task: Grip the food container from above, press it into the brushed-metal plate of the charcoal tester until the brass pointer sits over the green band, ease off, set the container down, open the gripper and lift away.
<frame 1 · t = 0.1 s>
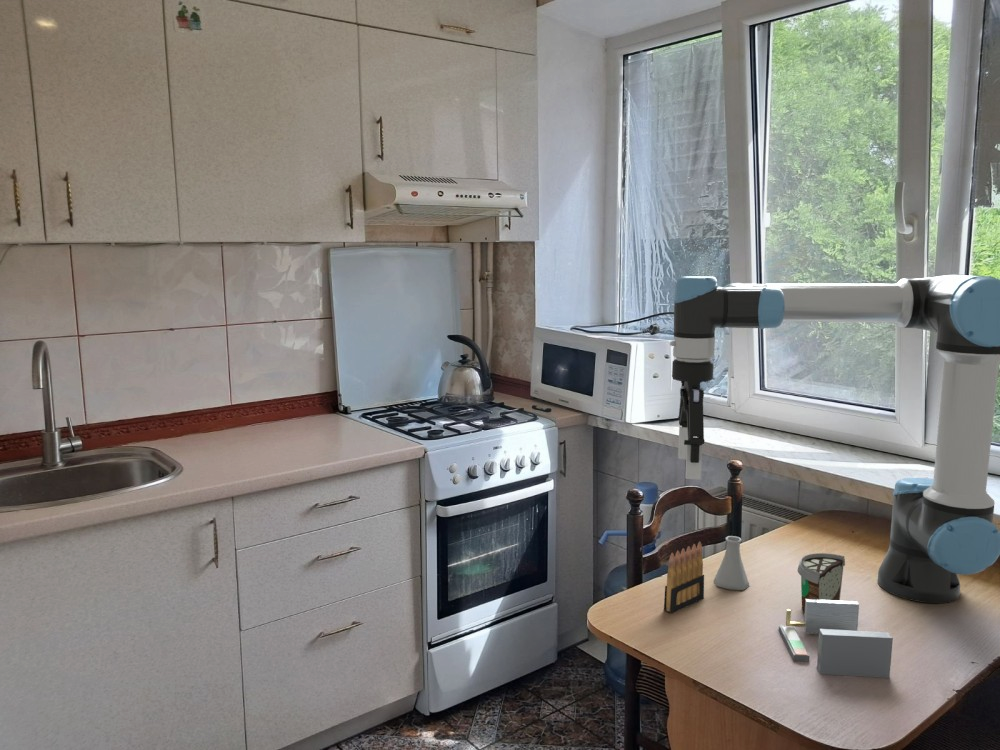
hand: (688, 468, 154), 28 cm above the table, tool pointing down, fingers open, 13 cm apart
tester housing: (841, 654, 139), on the table
flask: (731, 584, 168), on the table
food container: (813, 609, 157), on the table
ammunition clip: (684, 605, 159), on the table
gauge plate: (821, 616, 146), point 4 cm above the table, slide at 0.0 cm
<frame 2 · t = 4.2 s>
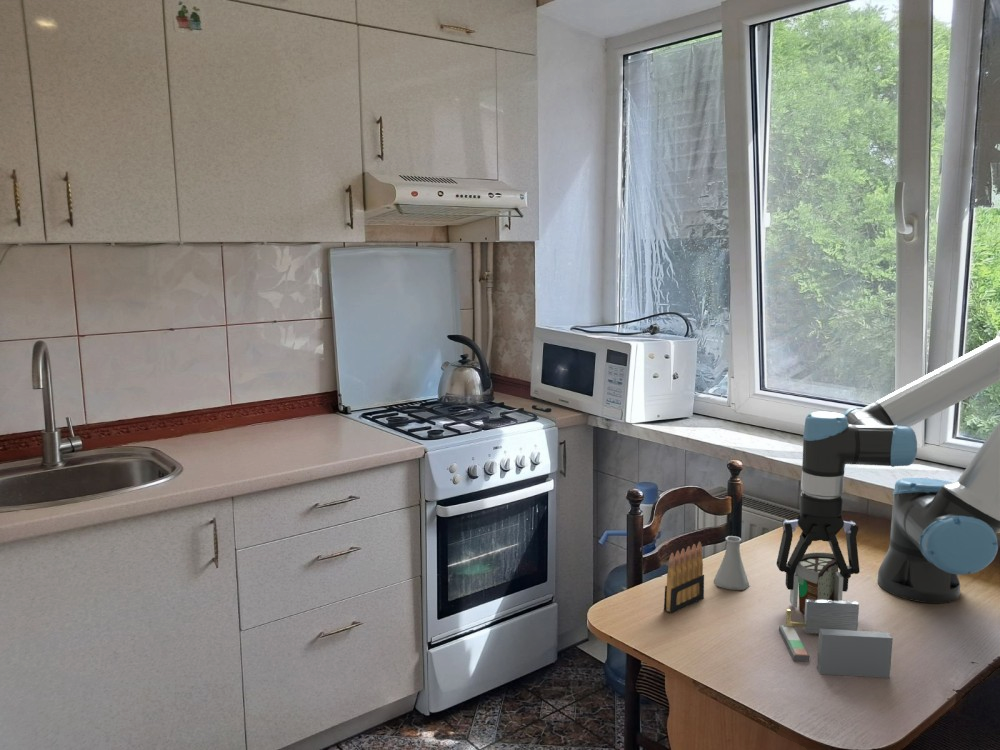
hand: (815, 605, 157), 1 cm above the table, tool pointing down, fingers open, 8 cm apart
food container: (810, 608, 157), on the table, touching gripper
everything else where it was.
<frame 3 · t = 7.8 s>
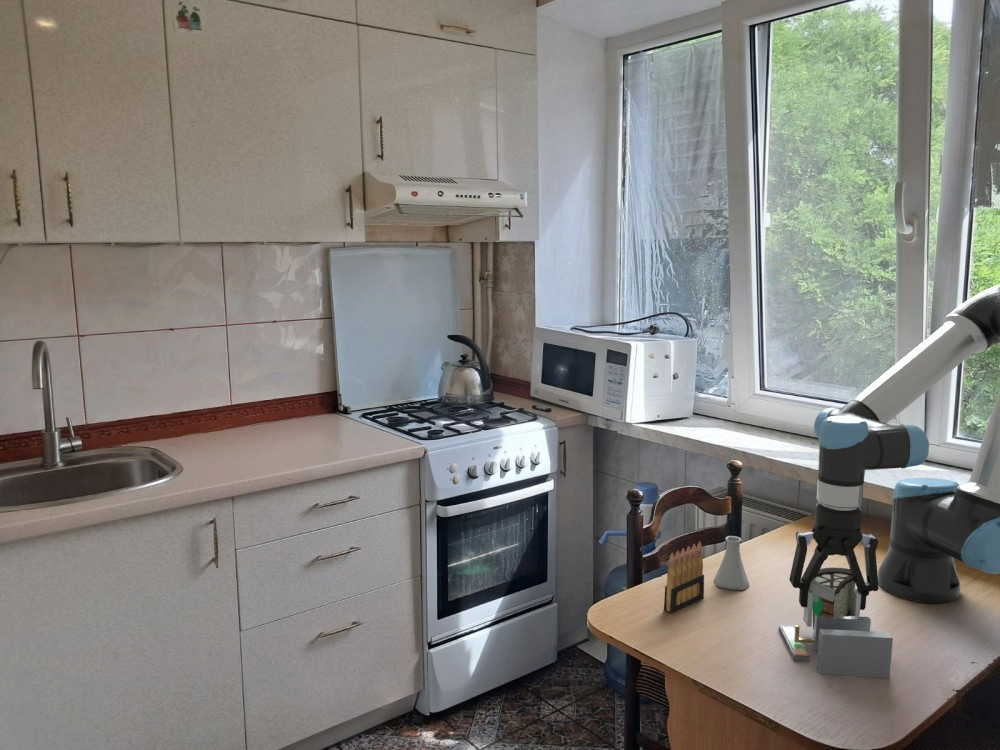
hand: (830, 624, 146), 2 cm above the table, tool pointing down, fingers closed on food container, 7 cm apart
food container: (824, 628, 146), point 1 cm above the table, touching gripper
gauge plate: (831, 632, 139), point 4 cm above the table, slide at 6.2 cm
everything else where it was.
when the fingers open (2 cm above the table, at t = 10.4 s): food container moves 2 cm, on the table.
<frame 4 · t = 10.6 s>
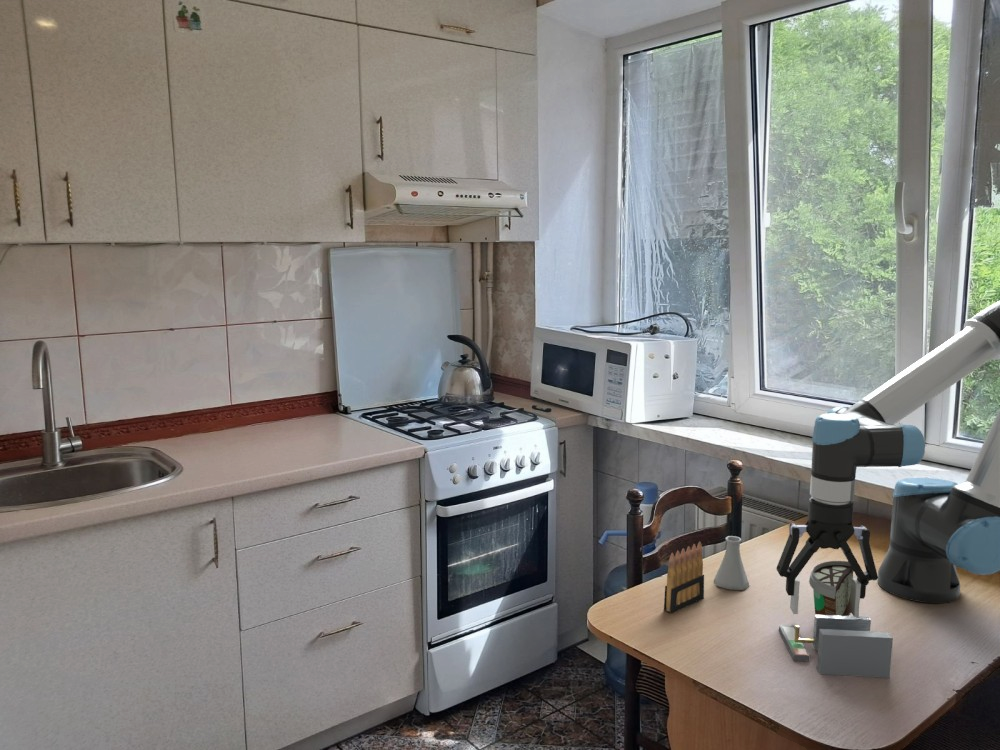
hand: (823, 612, 150), 2 cm above the table, tool pointing down, fingers open, 10 cm apart
food container: (826, 620, 151), on the table
everything else where it was.
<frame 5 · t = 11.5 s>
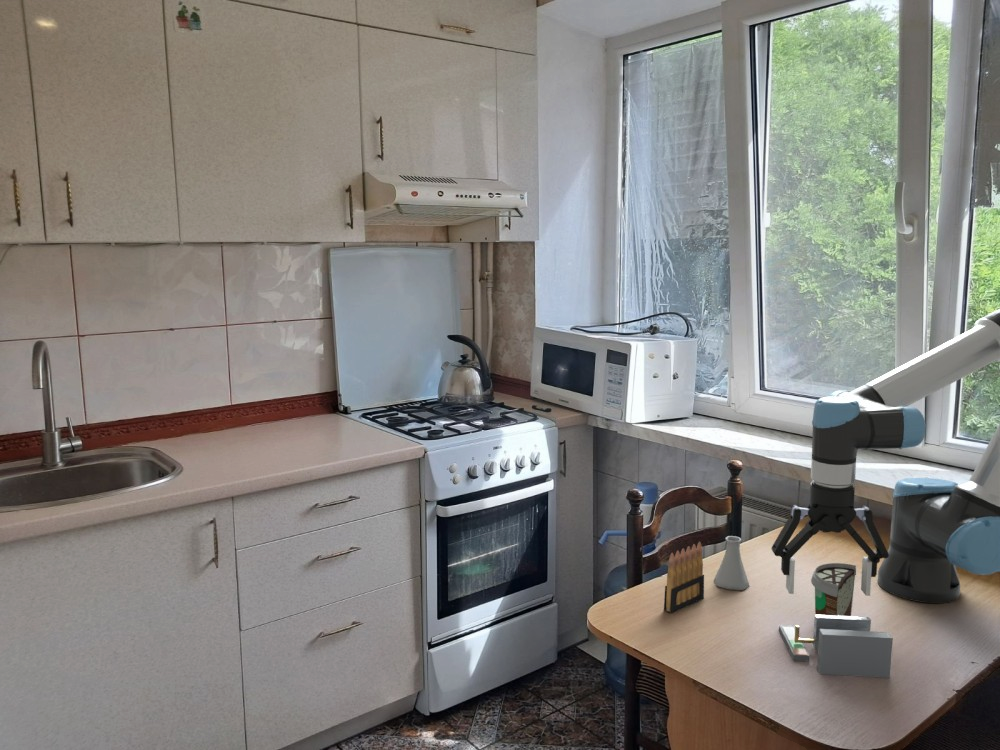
hand: (827, 591, 149), 6 cm above the table, tool pointing down, fingers open, 13 cm apart
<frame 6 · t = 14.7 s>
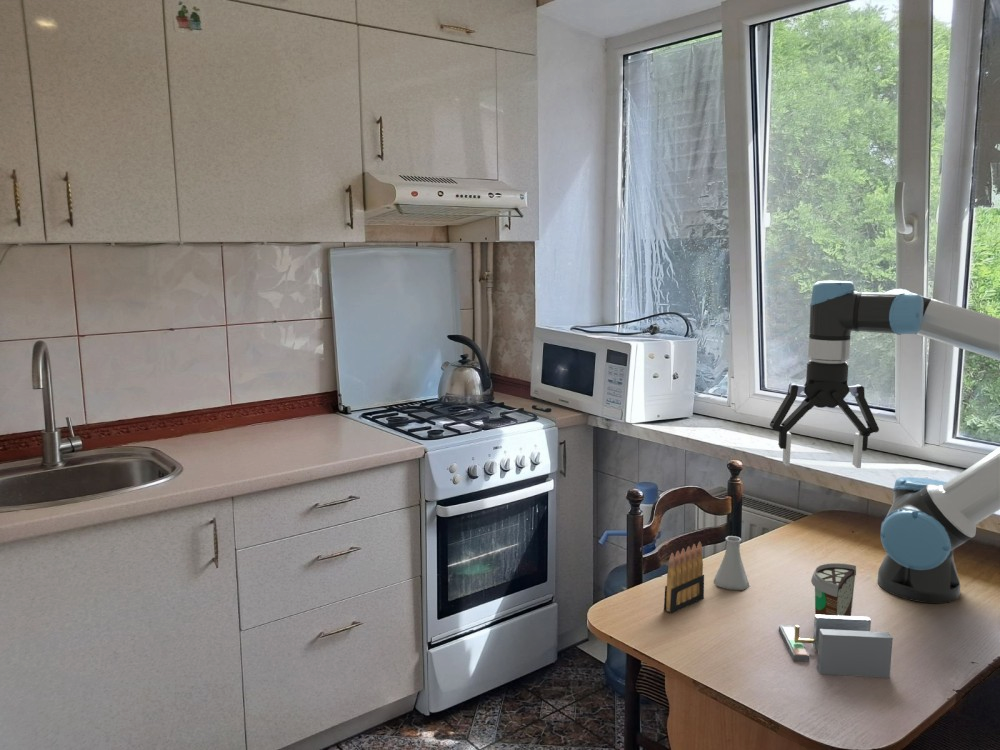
hand: (821, 465, 160), 27 cm above the table, tool pointing down, fingers open, 13 cm apart
nothing on the table moved.
at the end: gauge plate slide at 6.2 cm; food container tilted 0°; the gripper is holding nothing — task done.
